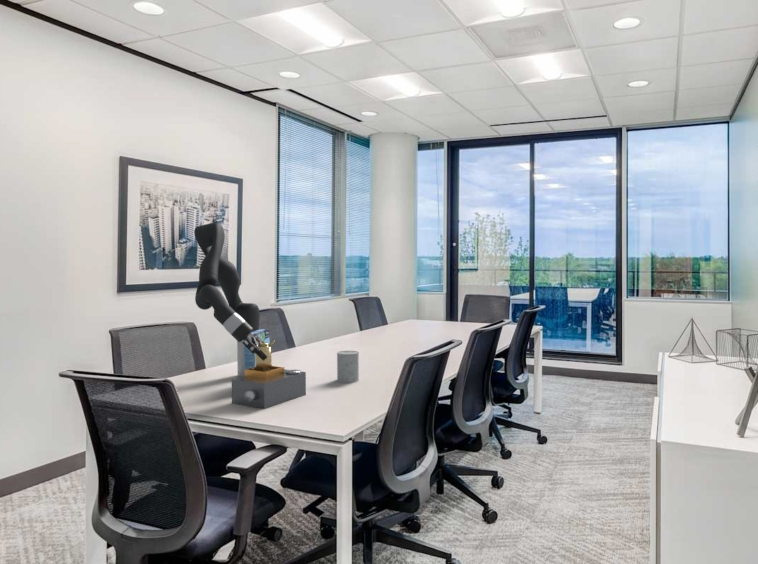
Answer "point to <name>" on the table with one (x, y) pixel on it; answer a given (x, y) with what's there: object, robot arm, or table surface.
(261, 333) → the gum box
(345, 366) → the grey stone cylinder
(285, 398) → the grey box with knob
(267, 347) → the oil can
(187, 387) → the table surface
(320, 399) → the table surface
